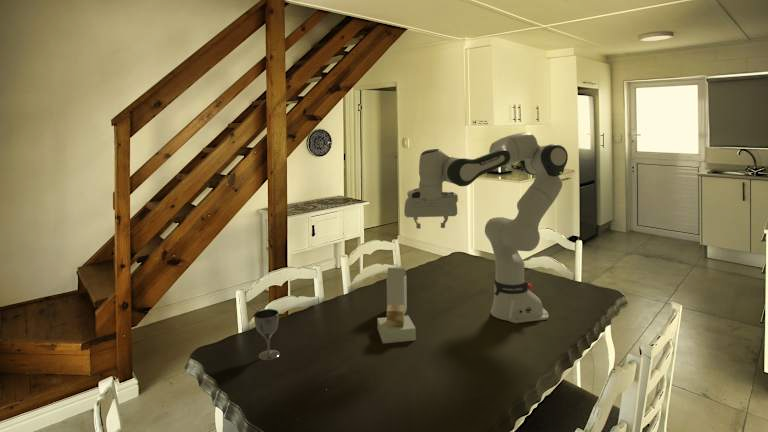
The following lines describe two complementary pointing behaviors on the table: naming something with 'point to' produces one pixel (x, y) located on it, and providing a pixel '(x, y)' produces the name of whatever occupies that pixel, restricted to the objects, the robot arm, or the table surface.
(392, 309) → the oak cube
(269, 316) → the wine glass
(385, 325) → the sage block
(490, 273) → the table surface
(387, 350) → the table surface
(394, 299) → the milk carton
